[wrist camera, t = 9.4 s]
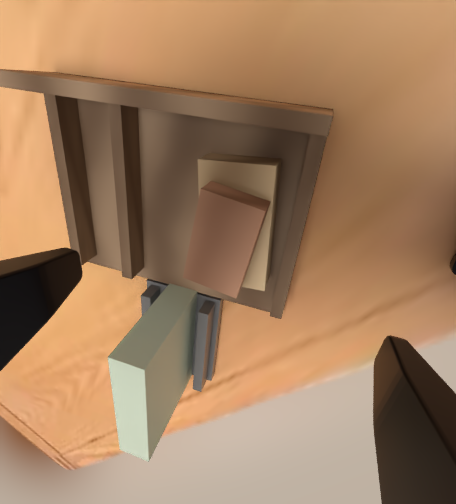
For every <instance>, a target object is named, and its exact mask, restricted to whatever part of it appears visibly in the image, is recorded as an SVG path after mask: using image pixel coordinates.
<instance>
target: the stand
mask: <svg viewBox="0 0 456 504" xmlns="http://www.w3.org/2000/svg"><path fill="white" fill-rule="evenodd" d="M168 285H169V284H166V283H162V282H159V281H155V280H152V279H148V280H147V290H146V291H145V292H144V293H143V294H142V295H141V304H142V316H143V315H144V313H145V312H146V311H147V310H148V309H149V307H150V306H151V305H152V304H153V303H154V302H155V300H156V299H157V298H158V297H159V296H160V294H161V293H162V292H163V291H164V290H165V288H166V287H167V286H168ZM222 304H223V299H220V298H217V297H213V296H209V295H206V294H202V293H199V292H197V305H196V319H195V334H194V348H193V363H192V375H194V380H193V389H194V390H197V391H200V392H201V391H202V389H203V387H204V384H205V382H206V380H210V381H211V380H212V378H213V376H214V371H215V362H216V354H217V346H218V337H219V329H220V321H221V313H222Z"/></svg>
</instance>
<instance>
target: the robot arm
mask: <svg viewBox="0 0 456 504" xmlns="http://www.w3.org/2000/svg"><path fill="white" fill-rule="evenodd" d="M450 269H451V271H452V272H453V273H454V274H455V275H456V254H455V256H454V258H453V259H452V261H451V263H450ZM81 278H82V267H81V260H80V255H79V253H78V252H77V251H76V250H73V249H69V248H60V249H55V250H50V251H45V252H40V253H35V254H31V255H26V256H21V257H16V258H11V259H6V260H2V261H0V371H1V370H2V369H3V368H4V367H5V366H6V365H7V364H8V363H9V362H10V361H11V360H12V359H13V357H14V356H15V355H16V354H17V353H18V352H19V351H20V350H21V349H22V348H23V347H24V346H25V345H26V344H27V343H28V342H29V341H30V340H31V339H32V337H33V336H34V335H35V334H36V333H37V332H38V331H39V330H40V329H41V328H42V327H43V326H44V325H45V324H46V323H47V322H48V320H49V319H50V318H51V317H52V316H53V315H54V313H55V312H56V311H57V310H58V308H59V307H60V306H61V304H62V303H63V302H64V301H65V299H66V298H67V297H68V296H69V294H70V293H71V292H72V290H73V289H74V288H75V287H76V285H77V284H78V283H79V281H80V280H81ZM373 396H374V398H373V400H374V401H373V402H374V403H373V425H374V437H375V445H376V454H377V463H378V473H379V482H380V491H381V500H382V504H456V394H455V393H454V391H453V390H452V389H451V388H450V387H449V386H448V385H447V384H446V383H445V382H444V380H443V379H442V378H441V377H440V376H439V375H438V374H437V373H436V372H435V371H434V370H433V369H432V367H431V366H430V365H429V364H428V363H427V362H426V361H425V360H424V359H423V358H422V356H421V355H420V354H419V353H418V352H417V351H416V350H415V349H414V348H413V347H412V346H411V344H410V343H409V342H408V341H407V340H405V339H402V338H398V337H395V336H391V335H390V336H387V337H386V338H385V340H384V342H383V344H382V346H381V348H380V350H379V352H378V354H377V356H376V358H375V362H374V395H373Z"/></svg>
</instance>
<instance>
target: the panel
mask: <svg viewBox="0 0 456 504" xmlns="http://www.w3.org/2000/svg"><path fill="white" fill-rule="evenodd" d="M196 305H197V291H195V290H191V289H188V288H184V287H181V286H177V285H173V284H169V285H168V286H167V287H166V288H165V290H164V291H163V292H162V293H161V294H160V296H159V297H158V298H157V299H156V300H155V302H154V303H153V304H152V305H151V306H150V307H149V309H148V310H147V311H146V312H145V313H144V315H143V316H142V317H141V318H140V319H139V321H138V322H137V323H136V324H135V325H134V327H133V328H132V329H131V330H130V331H129V333H128V334H127V335H126V336H125V337H124V338H123V340H122V341H121V342H120V343H119V344H118V346H117V347H116V348H115V349H114V350H113V352H112V353H111V354H110V355H109V356H108V363H109V370H110V378H111V386H112V393H113V401H114V408H115V416H116V424H117V431H118V439H119V446H120V450H122V451H124V452H126V453H129V454H131V455H134V456H136V457H139V458H141V459H143V460H146V461H148V462H149V460H150V458H151V456H152V454H153V452H154V450H155V448H156V446H157V444H158V442H159V440H160V438H161V436H162V434H163V432H164V430H165V428H166V426H167V424H168V422H169V420H170V418H171V416H172V414H173V412H174V410H175V408H176V406H177V404H178V402H179V400H180V398H181V396H182V394H183V392H184V390H185V388H186V386H187V384H188V382H189V379H190V377H191V375H192V363H193V348H194V334H195V319H196Z"/></svg>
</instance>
